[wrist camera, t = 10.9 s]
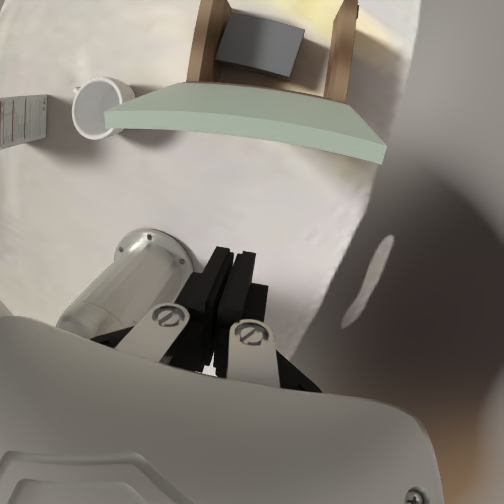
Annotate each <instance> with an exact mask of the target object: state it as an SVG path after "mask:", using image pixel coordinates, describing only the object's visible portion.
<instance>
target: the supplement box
mask: <svg viewBox="0 0 504 504" xmlns="http://www.w3.org/2000/svg"><path fill="white" fill-rule="evenodd" d="M46 114H47V95H31V96H17V97H7V98H0V150H1V149H4V148H8V147H11V146H15V145H19V144H23V143H27V142H31V141H35V140H39V139H43V138H46Z"/></svg>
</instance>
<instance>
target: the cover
mask: <svg viewBox="0 0 504 504" xmlns="http://www.w3.org/2000/svg"><path fill="white" fill-rule="evenodd" d="M104 118H105V129H110V128H128V129H163V130H180V131H194V132H206V133H216V134H225V135H234V136H242V137H249V138H256V139H263V140H270V141H276V142H282V143H288V144H293V145H299V146H304V147H309V148H314V149H319V150H324V151H329V152H333V153H337V154H342V155H346V156H350V157H354V158H358V159H362V160H366V161H370V162H374V163H377V164H382V162H383V159H384V155H385V152H386V149H387V145H386V144H385V143H384V142H383V141H382V140H381V138H380V137H379V136H378V135H377V134H376V133H375V132H374V131H373V129H372V128H371V127H370V126H369V125H368V124H367V123H366V122H365V121H364V120H363V119H362V118H361V117H360V116H359V115H358V114H357V113H356V111H355V110H354V109H353V108H352V107H351V106H350V105H347V104H346V103H342V102H337V101H333V100H329V99H324V98H319V97H315V96H310V95H304V94H299V93H293V92H287V91H281V90H274V89H267V88H260V87H251V86H241V85H230V84H217V83H196V82H183V83H177V84H173V85H170V86H167V87H164V88H162V89H159V90H156V91H153V92H150V93H148V94H145V95H142V96H140V97H137V98H135V99H132V100H130V101H127V102H125V103H122V104H120V105H118V106H115V107H113V108H111V109H109V110H106V111H104Z"/></svg>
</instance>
